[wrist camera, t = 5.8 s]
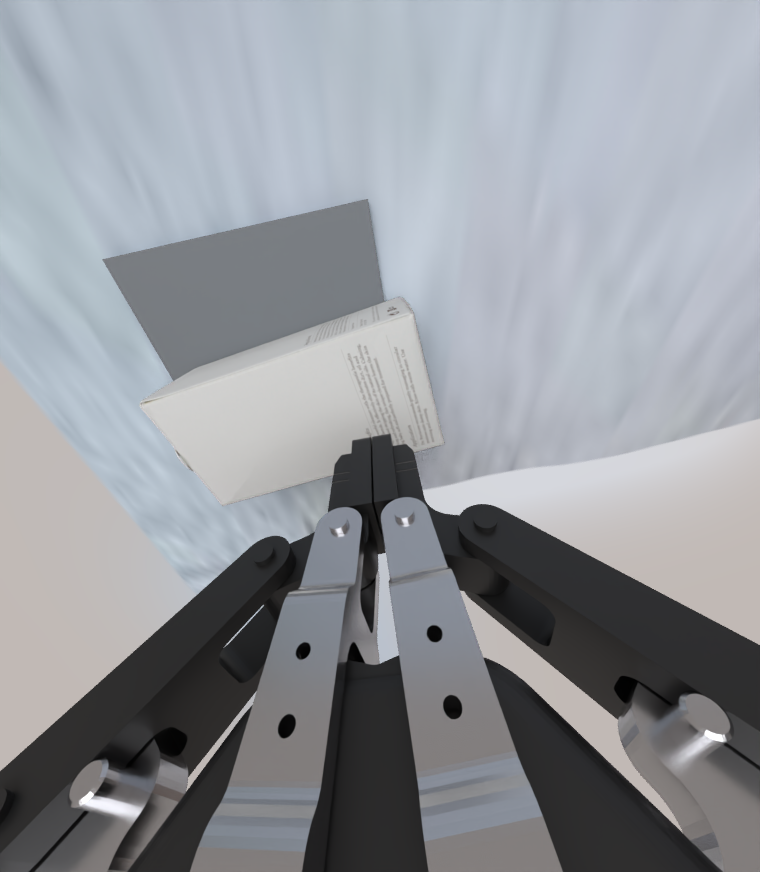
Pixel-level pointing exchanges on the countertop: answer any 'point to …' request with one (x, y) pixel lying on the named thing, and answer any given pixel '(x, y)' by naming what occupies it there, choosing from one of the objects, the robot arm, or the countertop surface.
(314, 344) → the skincare box
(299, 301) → the mat
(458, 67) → the countertop surface
